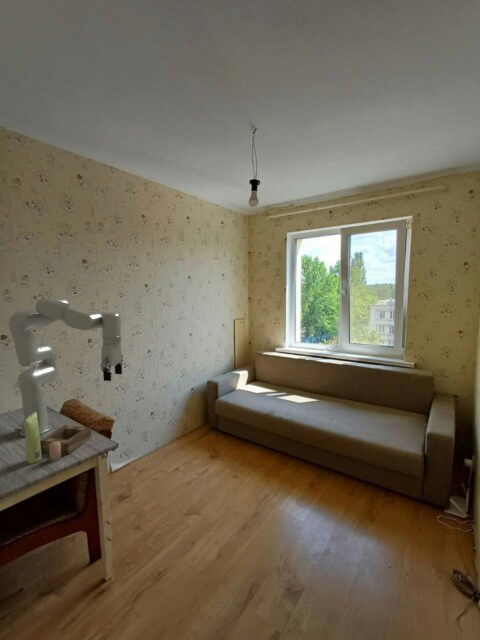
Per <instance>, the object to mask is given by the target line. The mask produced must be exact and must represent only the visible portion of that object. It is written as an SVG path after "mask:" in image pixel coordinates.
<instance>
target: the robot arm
mask: <svg viewBox="0 0 480 640" xmlns="http://www.w3.org/2000/svg"><path fill="white" fill-rule="evenodd" d="M56 321H61V322H63V323H64V324H65V325H67V326H68V327H70V328H74V329H77V330H80V331H81V330H82V331H92V330H95V329H96V330H97V329H101V331H102V333H101V335H102V336H101V337H102V345H101V354H100V355H101V356H100V357H101V358H100V359H101V360H100V361H101V363H100V367H101V370H102V373H103V376H102V377H103V381H104V382H106V381H107V382H111V381H112V372H111V370H112V367H114V374H115V375H122V374H123V367H122V366H123V360H124V359H123V358H124V354H122V345H121V343H122V336H121V334H122V333H121V331H122V330H121V315H120V313H118V312H105V311H92V312H82V311H77V308H76V306H75V305H74V304H72V303H69V302H68V300H66V299H65V298H63V297H46V298H42V299H41V298H40V300H38V301H36V304H35V308H34V309H28V310H21V311H17V312H15V313H13V314H12V315H11V316H10V318H9V320H8V329H9V331H10V334H11V336H12V338H13V343H14V348H15V353H16V358H17V362H18V363H19V365H20V366H21V367H26V368H27V367H31V366H35V365H38V366H35V367H31V368H28V369H26V370H24V371H22V372H20V373H19V375H18V377H17V384H18V387H19V390H20V395H21V404H22V415H23V416H22V418H23V420H21V421H20V423H18V427H20V428H22V429H21V430H20V436H22V437H24V438H26V433H25V421H26V419H27V418H28V417H29V416H31V415H32V414H33V413H35V412H36V413H37V419H38V427H39V436H41V435H43V434H46V433H48V432H49V431H50V430H51V429H52V423H49V422H48V412H47V411H48V409H47V398H46V397H47V396H46V392H45V391H44V389H43V388H42V386H43V385H47V384H49V383H50V382H53V381H55V380H56V379H57V377H58V371H59V370H58V366H57V361H56V355H55V351H54V349H53V347H52V346H51V345H50V344H48V343H46V342H45V343H44V342H43V343H37V337H36V335H35V334H34V332H33V331H32V330H31V329H33V328H40V327H46V326H47V327H48V326H50V325H52V324H53V323H55V322H56Z"/></svg>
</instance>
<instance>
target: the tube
mask: <svg viewBox="0 0 480 640" xmlns="http://www.w3.org/2000/svg"><path fill="white" fill-rule="evenodd" d="M25 433H26V437H25V449H26V450H25V452H26V462H27V464H35V463H38V462H40V461H41V460H42V451H41V445H40V440H41V435H39V427H38V419H37V413H36V412H35V413H33V414H32V415H31V416H29V417H28V418H27V419H26V421H25Z"/></svg>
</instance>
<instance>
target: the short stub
mask: <svg viewBox="0 0 480 640" xmlns="http://www.w3.org/2000/svg"><path fill="white" fill-rule="evenodd" d="M48 454H49V463H56V462H59V461H61V460H62V454H61V444H60V441H54V442H51V443H50V444H49V452H48Z"/></svg>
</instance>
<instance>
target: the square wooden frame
mask: <svg viewBox="0 0 480 640" xmlns="http://www.w3.org/2000/svg"><path fill="white" fill-rule="evenodd" d="M91 438H92V429H91V427H87V426H86V427H85V426H78V425H77V426H74V425H65V424H64V425H62V426H61V427H59V428H57V429H56V430H55V431H53V432H51V433H50V434H48V435H46V436H45V437H43V438H40V445H41V452H43V453H44V452H45V453H49V444H50V443H51V442H54V441H60V444H61V455H71V454H72V453H74V452H75V451H76V450H77V449H79V448H80V447H81V446H82V445H84V444H85V443H87V442H88V441H89V440H90V439H91Z"/></svg>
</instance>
